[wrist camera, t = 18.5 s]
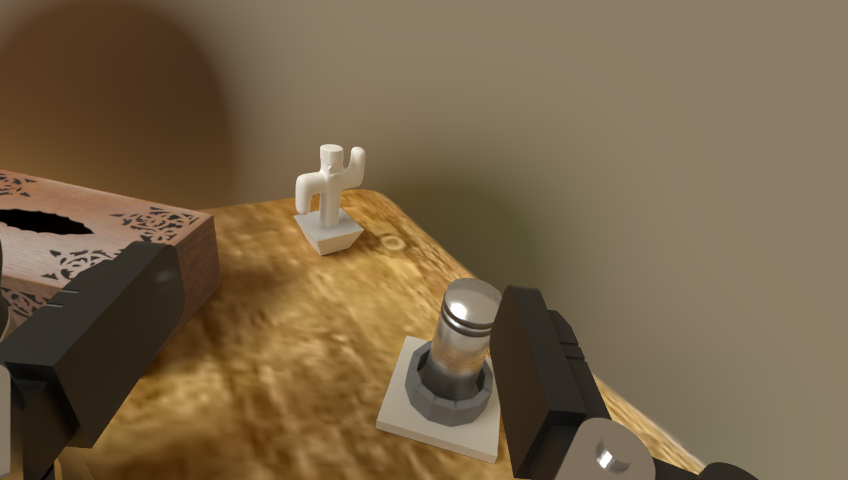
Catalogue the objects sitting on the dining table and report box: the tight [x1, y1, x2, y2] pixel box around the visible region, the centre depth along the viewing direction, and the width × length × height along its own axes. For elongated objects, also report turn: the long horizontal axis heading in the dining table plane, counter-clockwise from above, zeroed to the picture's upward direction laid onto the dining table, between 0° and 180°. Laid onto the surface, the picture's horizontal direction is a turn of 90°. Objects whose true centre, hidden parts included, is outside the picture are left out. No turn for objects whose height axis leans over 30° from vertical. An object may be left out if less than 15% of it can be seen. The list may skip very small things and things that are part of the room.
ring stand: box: [375, 335, 500, 464], centre depth 41 cm, size 11×11×4 cm
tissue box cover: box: [0, 168, 222, 359], centre depth 42 cm, size 26×14×10 cm, turn 82°
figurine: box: [294, 144, 365, 256], centre depth 57 cm, size 7×9×15 cm
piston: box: [421, 278, 502, 402], centre depth 38 cm, size 5×5×12 cm
